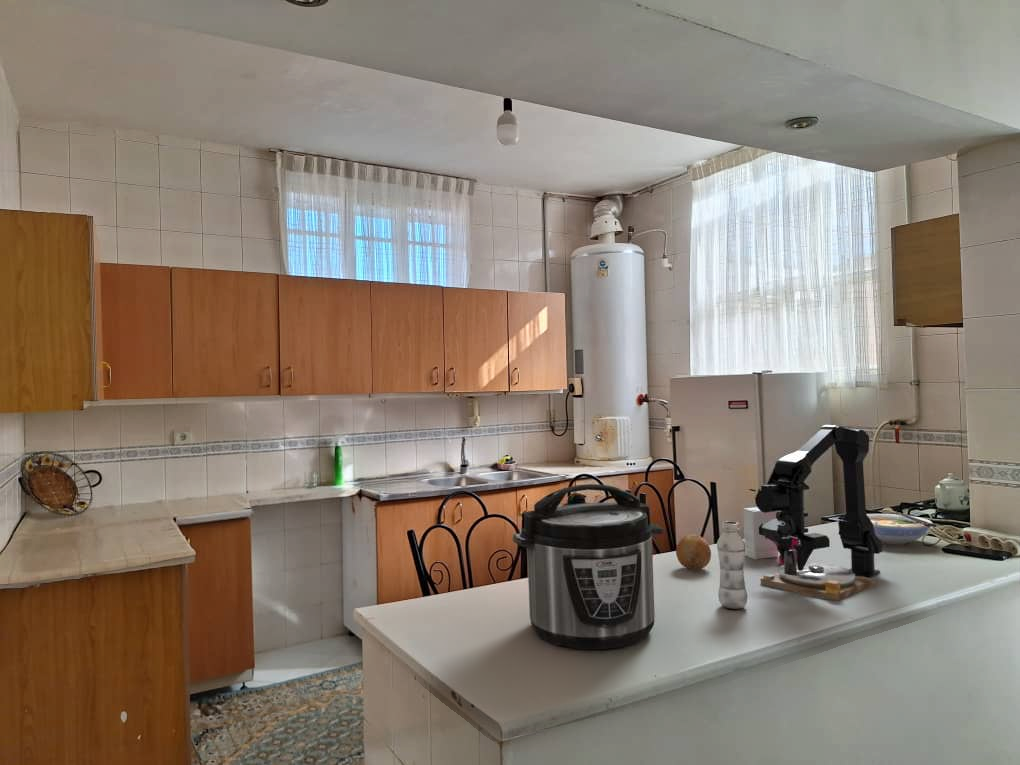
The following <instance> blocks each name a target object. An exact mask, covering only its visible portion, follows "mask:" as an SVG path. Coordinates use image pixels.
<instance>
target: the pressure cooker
mask: <svg viewBox="0 0 1020 765" xmlns="http://www.w3.org/2000/svg"><path fill="white" fill-rule="evenodd" d="M580 491H581V492H583V491H602V492H607V493H608V494H609V495H610V496H611V497H612V498H613V500H614V501H615V502H614V503H613V502H586V498H588V497H587V496H586V494H585V495H584V494H582V493H579V492H580ZM567 493H571V494H570V495H569V496H568V497H567V500H566V502H567V504H563V505H560V504H561V502H562V501H563V499H565V497H566V495H567ZM523 524H524V525H523V526H524V527H523V528H522V529H521V532H520V533H515V534H513V535H512V541H513V542H514V543H515V544H516V545H517V546H520V547H522V548H523V547H524V548H526V549H527V552H526V554H527V573H528V574H527V576H528V578H527V580H528V600H529V601H528V603H529V604H528V605H529V618H530V624H531V626H532V629H533V630H534V632H535V633H536V634H537V636H538V637H539V638H541V639H542V640H545V641H547V642H549V643H552V644H554V645H557V646H558V645H559V646H561V647H562V646H563V647H566V648H573V649H583V650H605V649H606V650H607V649H614V648H616V649H617V648H620V647H626V646H630V645H632V644H636V643H639V642H641V641H642V640H643V639H645V638H646V637H647V636H648V635H649V634H650V632H651V631H652V629H653V627H654V624H655V620H656V619H655V618H656V615H655V614H656V613H655V593H654V592H655V589H654V585H655V584H654V560H653V536H654V535H663V534H664V529H663V527H662V526H659V525H658V524H653V523H651V514H650V506H648V505H647V504H645V503H643V502H642V503H641V500H640V499H639V497H638V496H636V495H635V494H632V493H631V492H629V491H627V490H625V489H622V488H620V487H616V486H611V485H606V484H598V483H597V484H596V483H592V484H589V483H586V484H576V485H573V486H568V487H564V488H561V489H558V490H556V491H553V492H551V493H548V494H546V495H545V496H544V497H543V498H540V499H539V500H538V501H536V502H535V503H534V505H533V510H527V511H525V512H524V514H523Z"/></svg>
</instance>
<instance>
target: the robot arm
mask: <svg viewBox="0 0 1020 765" xmlns="http://www.w3.org/2000/svg"><path fill="white" fill-rule="evenodd" d="M833 445H834V448H835V452H836V454H837V455H838V457H839V458H840V459H841V461H842V472H843V487H844V505H845V515H844V516H843V517H842V519H839V520H838V522H837V525H838V535H839V538H840V540H841V544H842V547H843V549H848V550H850V557H851V558H850V562H851V564H850V565H851V566H850V567H851V568H849V570H851V571H852V572H854V574H855V575H859V576H860V575H861V576H865V577H872V576H875V575H877V574H879V573H881V570H879V569H875V555H877V554H879V555H880V553H882V552H883V547H884V543H882V542H881V541H880V540H879V539H878V537H877V536H876V535H875V532H874V526H873V523H872V522H871V520H870V519H869V517H868V516H867V514H868V513H867V507H866V492H865V489H866V488H865V476H864V475H865V474H864V472H865V471H864V461H865V458H866V457H867V455H868V454H869V451H870V436H869V434H868V433H867V432H866V431H865V430H863V429H856V428H855V429H854V428H853V429H849V428H845V427H842V426H840V425H837V424H833V425H832V424H824V425H822V426H820V428H819V431H817V432H816V433H815V434H814V435H813V436H812V437H811V438H810V439H809V440H807V442H806V443H804V444H803V445H802V446H801V447H800V448H799V449H798V450H796V451H795V452H792V453H789V454H787V455H784V456H783V457H781V458H779V459H778V460H776V462H775V464H774V467H773V470H772V471H771V473H770V476H769V479H768V480H767V483H766V484H762V485H761V486H760V487H761V488H760V489H761V490H759V491H757V493H756V495H755V498H754V499H755V500H754V501H755V505H756V506H755V507H758V509H759V510H760V511H762V512H764V513H768V512H774V511H777V513H776V519H773V520H771V521H769V522H768V523H762V524H761V525H760V526H759V534H760V535H763V536H765V538H766V539H769V540H771V541H772V542H773V543H775V544H776V546H777V548H778V550H779V552H778V554H779V556H780V555H781V558H782V561H783V564H782V565H784V549H791V548H792V541H793V539H795V540H799V542H798V543H799V544H798V545H793V547H794V548H795V549H796V551H797V565H798V570H799V571H802V570H803V568H804V566H805V564H806V563H808V559H809V558H810V556H811V554H812V553H813V551H814V550H820V549H824V548H830V546H831V544H830V538H829V537H828V535H826V534H822V533H818V532H812V533H809V527H806V526H805V518H806V517H809V512H808V511H807V512H806V511H805V490H806V491H807V490H810V486H809V485H808V484H807V483H806V482H805V481H806V480H807V479H808V477H809V475H810V474H811V473H812V467H813V464H815V462H816V461H817V460H818V459H820V458H821V457H822V455H824V454H825V453H826V452H827V451H828V450H829V449H830V448H831V447H832V446H833ZM795 535H797V536H795Z"/></svg>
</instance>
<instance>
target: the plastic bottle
mask: <svg viewBox="0 0 1020 765" xmlns="http://www.w3.org/2000/svg"><path fill="white" fill-rule="evenodd" d="M739 526H740V524H739V522H737V521H729V520H726V521H723V522H722V529H721V530H722V533H721V535H720V537H719V538H718V539H717V541H716V542H717V543H716V548H717V554H718V561H719V572H720V573H719V574H720V575H719V586H718V594H717V597H718V602H719V603H720V605H721V606H722V607H724V608H728V609H734V610H736V609H737V610H738V609H744V608H745V607H746V606H747V603H748V592H747V589H746V581H745V572H744V571H745V570H744V568H745V556H746V555H745V540H744V539H743V538H742V536H741V535H740V534H739V532H740V527H739Z"/></svg>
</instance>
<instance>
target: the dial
mask: <svg viewBox="0 0 1020 765" xmlns="http://www.w3.org/2000/svg"><path fill="white" fill-rule="evenodd" d="M778 569H779V571H778V572H779V576H780V578H782V579H783V580H785V581H787V582H790V583H793V584H798V585H802V586H809V587H818V588H826V582H827V581H829V580H832V581H837V582H840V587H847V586H850V585H853V584H854V583H855V576H856V574H854V572H852V571H851V570H849V569H850V568H849V569H848V568H846V567H844V566H839V565H834V564H830V563H829V564H828V563H822V562H806V564H805V566H804V568H803V570H802V571H799V570H798V565H797V560H796V550H794V549H784V564H781V566H779V568H778Z"/></svg>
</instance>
